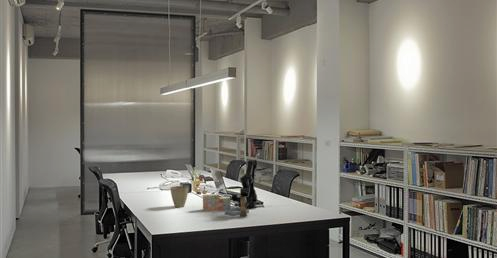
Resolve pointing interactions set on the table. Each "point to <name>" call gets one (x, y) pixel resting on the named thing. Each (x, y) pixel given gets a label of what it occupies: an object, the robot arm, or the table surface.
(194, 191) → the table surface
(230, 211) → the tray
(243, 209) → the scraper handle
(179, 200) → the plant pot
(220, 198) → the colourful rectangular box
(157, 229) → the table surface
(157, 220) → the table surface
